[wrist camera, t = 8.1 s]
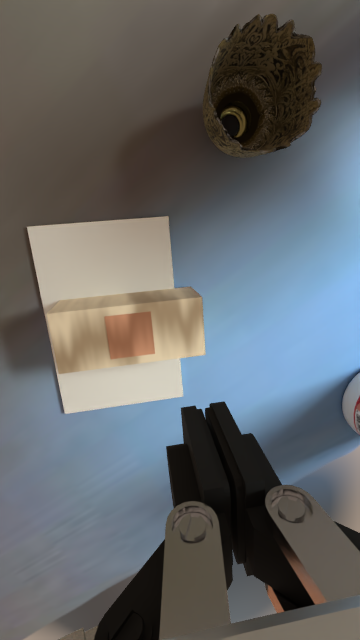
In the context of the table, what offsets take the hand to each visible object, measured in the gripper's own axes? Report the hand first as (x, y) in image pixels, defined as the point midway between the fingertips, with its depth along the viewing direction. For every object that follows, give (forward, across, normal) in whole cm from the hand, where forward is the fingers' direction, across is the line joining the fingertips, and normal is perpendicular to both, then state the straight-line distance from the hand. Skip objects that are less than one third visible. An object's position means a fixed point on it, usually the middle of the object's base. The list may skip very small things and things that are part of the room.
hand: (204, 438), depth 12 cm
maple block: (+17, -3, 0) cm, 17 cm away
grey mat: (+20, +5, 0) cm, 20 cm away
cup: (+20, -7, -16) cm, 26 cm away
